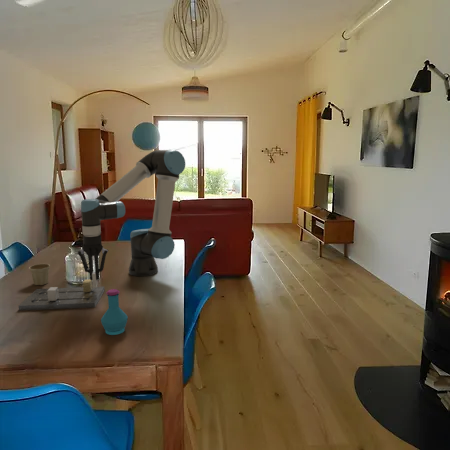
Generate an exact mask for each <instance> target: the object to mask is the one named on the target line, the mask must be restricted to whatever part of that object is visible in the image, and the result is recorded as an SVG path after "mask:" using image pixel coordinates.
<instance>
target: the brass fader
mask: <svg viewBox="0 0 450 450" xmlns="http://www.w3.org/2000/svg"><path fill="white" fill-rule="evenodd" d="M82 287H83V292H91V290H92V289H93V288H92V287H93V281H92V280H90V278H89V279H84V280H83V281H82Z"/></svg>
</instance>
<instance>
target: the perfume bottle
mask: <svg viewBox="0 0 450 450" xmlns="http://www.w3.org/2000/svg"><path fill="white" fill-rule="evenodd" d="M120 293H121V291H120V290H118V289H116V288H114V289H113V288H111V289H108V290H107V291H106V292H105V294H106V295H107V301H108V303H107V304H108V308H107V310H106V311H105V312H104V314H103V315H102V317H101V319H100V322H101V323H100V324H101V325H102V327H103V329H104V330H105V334H107V335H111V336H115V335H121V334H123V333H124V332H125V330H126V326H127V323H128V317H129V316H128V315H127V314H126V312H124V310H123V309H121V307H120V302H119V301H120V299H119V296H120Z"/></svg>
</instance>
